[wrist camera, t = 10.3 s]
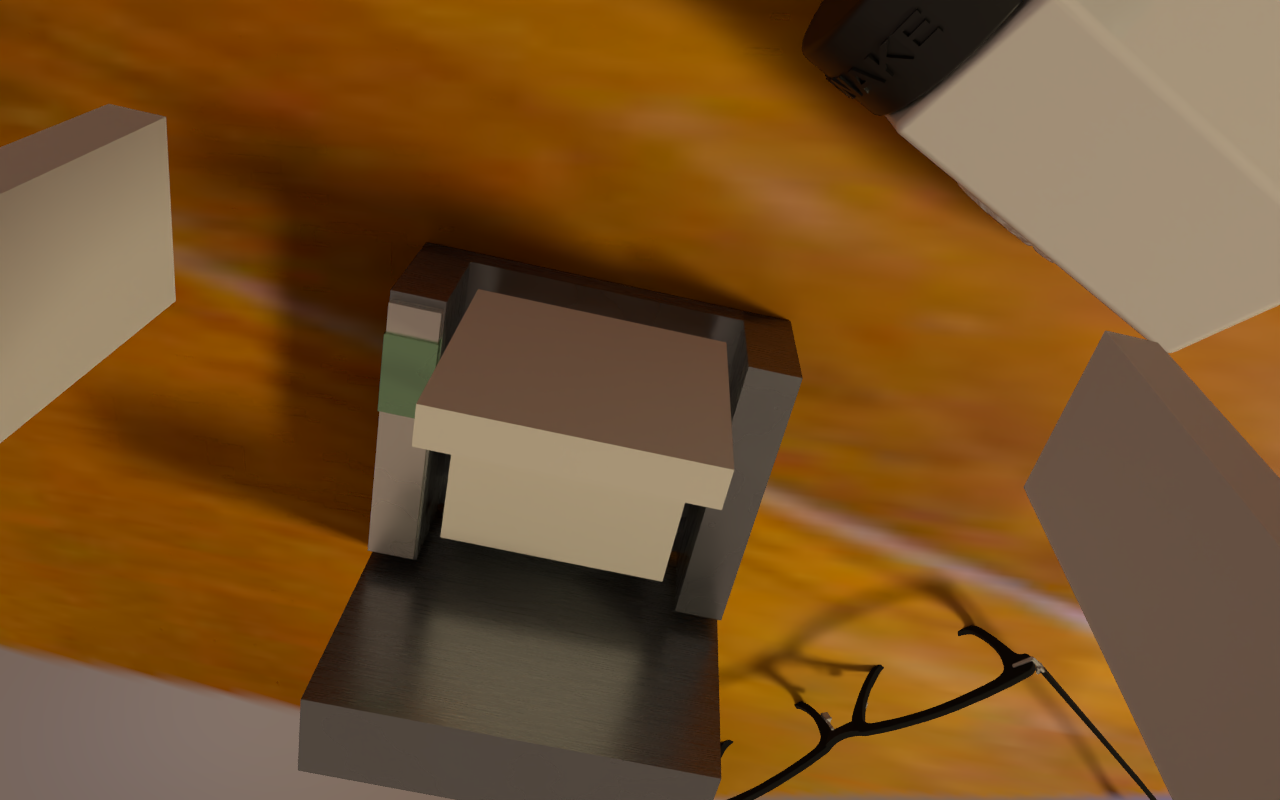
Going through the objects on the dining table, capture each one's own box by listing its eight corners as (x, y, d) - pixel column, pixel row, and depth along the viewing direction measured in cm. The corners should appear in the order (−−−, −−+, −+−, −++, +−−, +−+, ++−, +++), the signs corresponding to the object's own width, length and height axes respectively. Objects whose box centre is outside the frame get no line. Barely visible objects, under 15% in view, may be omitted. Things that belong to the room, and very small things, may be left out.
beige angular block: (487, 271, 29) (416, 403, 22) (725, 323, 29) (734, 470, 22) (457, 484, 33) (389, 657, 26) (667, 527, 33) (659, 708, 26)
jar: (1079, 276, 29) (787, 34, 27) (1305, 60, 26) (996, -238, 24) (1202, 404, 22) (807, 79, 19) (1549, 118, 18) (1124, -319, 16)
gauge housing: (426, 242, 30) (313, 391, 21) (790, 321, 30) (827, 497, 22) (394, 555, 36) (297, 770, 27) (696, 615, 37) (696, 844, 28)
